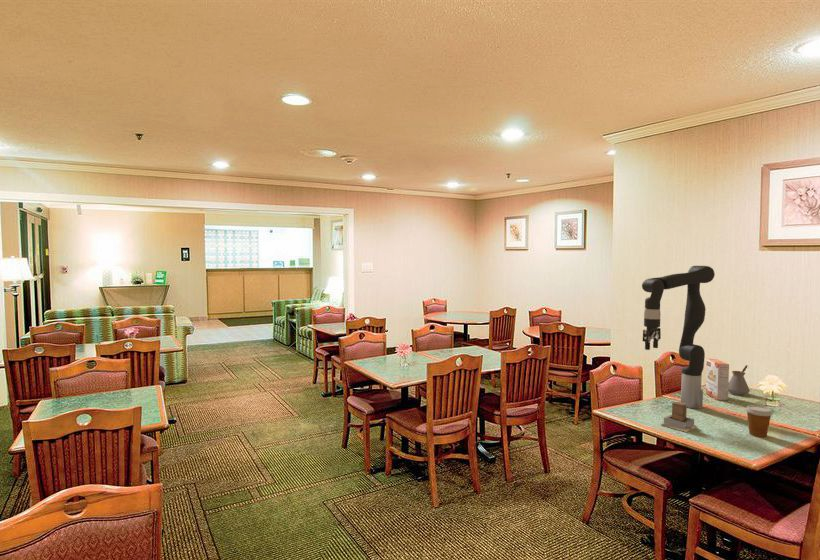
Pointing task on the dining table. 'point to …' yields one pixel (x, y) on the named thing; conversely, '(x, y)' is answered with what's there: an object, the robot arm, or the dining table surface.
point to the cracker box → (717, 379)
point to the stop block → (679, 411)
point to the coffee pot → (738, 383)
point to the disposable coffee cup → (758, 420)
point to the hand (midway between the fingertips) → (651, 348)
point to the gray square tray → (679, 424)
